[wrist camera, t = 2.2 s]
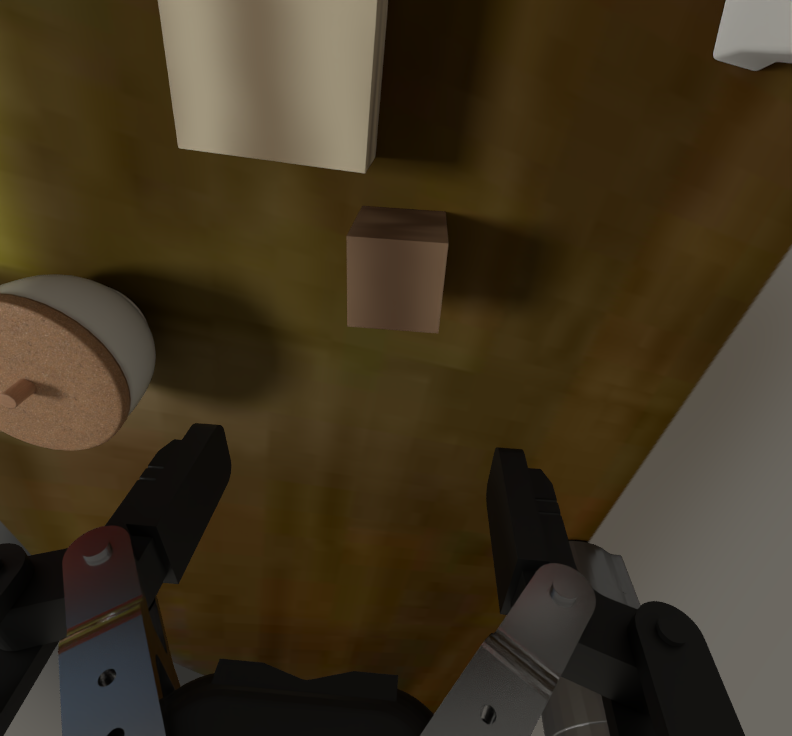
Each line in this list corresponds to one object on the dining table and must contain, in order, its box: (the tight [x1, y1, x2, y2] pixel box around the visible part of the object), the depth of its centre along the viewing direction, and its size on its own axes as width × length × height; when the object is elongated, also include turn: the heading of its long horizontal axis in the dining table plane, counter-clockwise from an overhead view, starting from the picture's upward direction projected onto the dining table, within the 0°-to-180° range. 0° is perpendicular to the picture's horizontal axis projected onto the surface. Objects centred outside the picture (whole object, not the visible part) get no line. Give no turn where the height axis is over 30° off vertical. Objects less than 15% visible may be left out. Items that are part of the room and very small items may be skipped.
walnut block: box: [347, 206, 449, 333], centre depth 26 cm, size 5×5×6 cm
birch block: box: [158, 0, 388, 173], centre depth 21 cm, size 9×9×5 cm
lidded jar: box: [0, 275, 156, 450], centre depth 29 cm, size 11×11×9 cm
